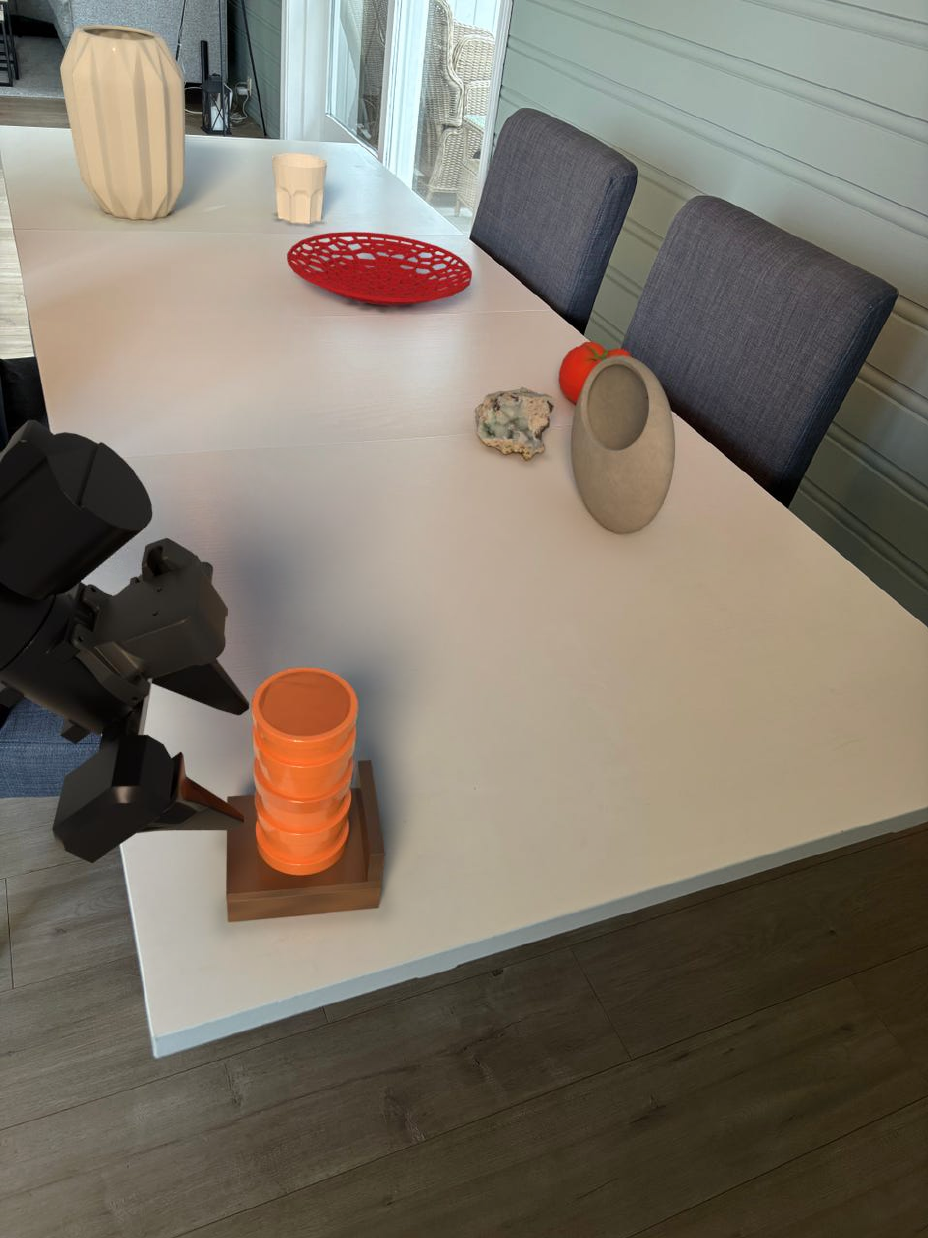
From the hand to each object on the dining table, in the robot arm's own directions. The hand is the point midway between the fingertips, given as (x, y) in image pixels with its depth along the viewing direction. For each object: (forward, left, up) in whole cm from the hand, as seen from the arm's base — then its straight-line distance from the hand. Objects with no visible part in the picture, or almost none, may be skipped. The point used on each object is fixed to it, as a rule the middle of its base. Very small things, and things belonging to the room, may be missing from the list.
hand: (242, 763), depth 57 cm
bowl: (+22, +108, -11) cm, 111 cm away
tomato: (+48, +72, -11) cm, 87 cm away
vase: (-18, +142, -11) cm, 144 cm away
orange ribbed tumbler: (+4, 0, -8) cm, 9 cm away
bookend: (+4, 0, -11) cm, 12 cm away
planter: (+40, +43, -11) cm, 60 cm away
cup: (+11, +145, -11) cm, 146 cm away
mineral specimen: (+33, +61, -11) cm, 70 cm away
